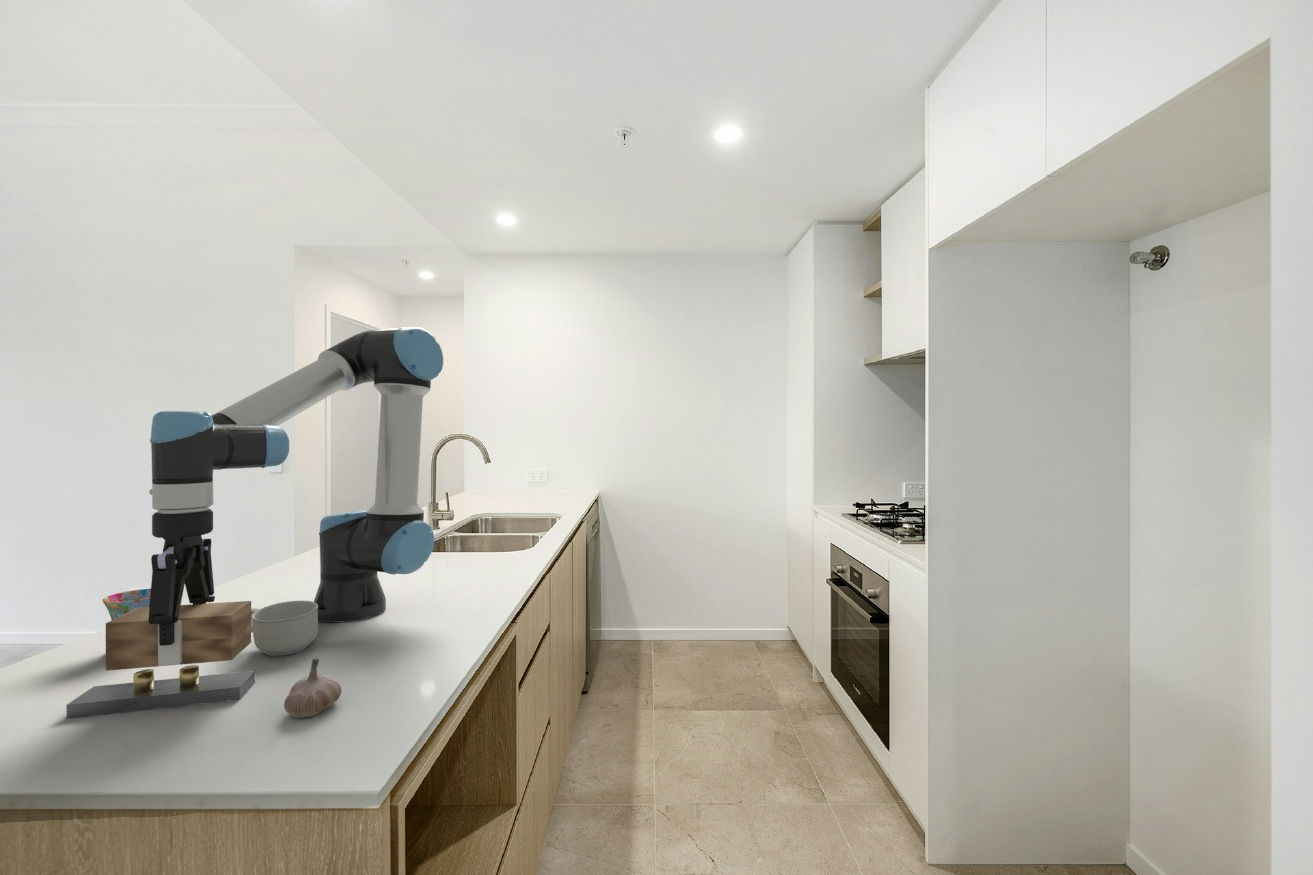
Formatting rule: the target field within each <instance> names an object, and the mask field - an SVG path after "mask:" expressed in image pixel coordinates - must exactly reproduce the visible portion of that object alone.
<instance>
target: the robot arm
mask: <svg viewBox="0 0 1313 875" xmlns="http://www.w3.org/2000/svg"><path fill="white" fill-rule="evenodd" d="M443 367H444V354H443V350H442V348H441V345H440V343H439V342H438V341H437V339H436V337H435V336H434V335H433V334H432V333H431V332H430V331H428V330H427V329H425V328H422V327H415V326H414V327H413V326H400V327H395V328H393V327H392V328H384V329H368V330H365V331H362V332H359V333H356V334H355V335H352V336H350V337H349V338H347V339H344V340H343V341H341V342H338V343H337V344H334V345H333V346H331V347H329V348H328V349H325V350H323V351H321V352H320V353H319V355H318V358H317V360H314V361H313V362H311V363H309V364H307V365H305V366H303V367H301V368H299V369H298V370H296V371H294V372H291V373H290V374H289V375H286V376H285V377H282V378H280V379H278V380H277V381H275V382H273V383H271V384H270V385H267V386H265V387H264V388H262V389H259V390H257V391H256V392H254V393H252V394H250V395H248V396H247V397H244V398H242V399H241V400H239V401H237V402H235V403H233V404H231V405H230V406H227V407H226V408H224V409H222V410H220V411H217V412H216V413H214V414H212V413H210V412H208V411H189V410H187V411H182V410H179V411H178V410H175V411H174V410H166V411H165V410H164V411H163V410H162V411H158V412H156V413H155V414H154V415H153V416H152V421H151V428H150V439H149V443H150V445H151V446H150V448H151V483H152V484H151V489H149V492H148V493H149V494H150V495H151V497H152V499H151V500H152V501H151V502H152V503H151V507H152V509H153V510H155V511H156V512H153V514H152V515H151V534H152V536H153V537H154V538H158V539H163V540H164V542H163V549H162V553H157V554H152V555H151V559H150V562H151V569H152V570H151V571H152V573H151V584H150V589H151V594H150V606H149V618H148V622H149V624H158V667H166V666H167V667H168V666H169V665H170V666H180V664H181V663H182V620H178V617H179V611H180V606H181V605H182V599H183V594H184V589H185V590H186V594H187V598H188V602H189V604H207V603H215V595H214V594H215V586H214V573H213V562H212V538H203V535H208V534H210V533H212V532H213V530H214V510H212V509H211V508H210V507H211V506H213V505H214V477H213V476H214V471H217V470H233V469H253V468H255V469H256V468H262V469H265V468H267V467H268V468H270V467H277V466H279V465H281V464H283V463H284V462H285V461H286V460H287V458H288V456H289V454H290V439H289V435H288V434H287V432H286V431H285V429H284V428H283V427H281V426H280V425H282V424H283V423H285V422H287V421H289V420H290V419H292V418H294V417H296V416H298V415H299V414H300V413H302V412H304V411H306V410H307V409H309V408H310V407H312V406H314V405H316V404H318V403H319V402H321V401H322V400H324V399H326V398H329V396H331V395H334V394H335V393H337V392H338V391H348V390H352V389H353V388H355V387H356V386H359V385H362V384H366V383H372V382H373V387H374V388H375V389H376V390H377V391H378V393H380V403H379V404H380V407H379V409H380V410H379V421H378V422H379V425H378V426H379V427H378V442H377V444H378V445H377V460H376V462H377V463H376V476H375V477H376V478H375V481H376V482H375V493H374V494H375V496H374V497H375V498H374V504H373V505H371V507H370V508H369V509H363V510H355V511H348V512H339V513H334V514H333V513H332V514H328V515H325V516H323V517H322V519H320V522H319V524H320V525H319V532H318V535H319V566H320V568H319V569H320V570H319V571H320V572H319V574H320V581H319V586H318V588H317V590H316V594H315V595H314V600H313V602H315V603H317V605H318V609H317V612H318V622H321V623H344V622H345V623H346V622H352V621H359V620H363V619H368V618H370V617H374V616H376V615H378V614H381V613H382V612H384V611H385V610H386V609H387V599H386V595H385V592H384V590H383V587H382V585H381V581H380V578H379V576H378V572H380V573H386V574H389V575H410V574H412V573H415V572H417V571H418V570H420V569H421V568H422V567H423V566H424V565H425V563H426V562H427V561H428V559H429V558H430V556H431V555H432V552H433V549H434V545H435V534H434V531H433V529H431V525H430V524H428V523H426V522H425V521H424V520H425V518H424V516H425V510H424V509H423V508H422V507H421V506H419V503H418V497H419V496H418V493H419V478H420V477H419V476H420V475H419V474H420V458H421V457H420V456H421V441H422V440H421V439H422V437H421V436H422V418H423V416H422V415H423V403H424V402H423V400H424V397H425V396H426V395H427V394H428V393H429V392H430V391H431V384H432V380H434V379H435V378H437V377H439V374H440V373H441V372H442V371H443ZM170 666H169V667H170Z"/></svg>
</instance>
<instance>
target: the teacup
mask: <svg viewBox="0 0 1313 875" xmlns="http://www.w3.org/2000/svg"><path fill="white" fill-rule="evenodd" d="M317 609H318V605H317V603H315V602H314V601H312V600H289V601H284V602H277V603H274V604H270V605H267V606H264V607H262V608H259V607H257V608H256V607H255V608H253V607H252V608H251V634H252V636H253V642H254V646H255V647H256V649H257V650H259V651H260V652H262V653H264V654H266V655H268V656H272V657H282V656H287V655H292V654H295V653H298V652H301V651H303V650H305V649H306V648H307V646H309V645H310V644H311V643H312V642H313V641H314V640H315V638H316V636H317V634H318V629H319V625H318V624H319V623H318V622H319V621H318V612H317Z"/></svg>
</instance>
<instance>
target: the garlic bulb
mask: <svg viewBox="0 0 1313 875" xmlns="http://www.w3.org/2000/svg"><path fill="white" fill-rule="evenodd" d="M319 662H320V658H318V657H313V658H312V660H311V665H310V671H309V673H308V674H309V675H307V676H305V677H304V678H301V679H300V680H298V681H297V682H295V684H294V685H293V686H291V688H290V691H289V694H288V695H287V696H286V698H285V700H284V702H283V707H284V708H283V709H284V710H285V712H286V713H287V714H289V715H290V716H291V717H293V718H295V719H296V718H297V719H302V718H303V719H304V718H307V717H308V718H309V717H311V718H312V717H315V716H317V715H318V714H319V715H320V714H321V713H322V712H323V711H324V710H326V708H329V707H330V706H333V704H334V703H335V702H337V701H338V700H339V698H340V697H341V695H342V686H341V684H340V683H339V682H338V681H336V680H335V679H331V678H327V677H325V676H322V675H320V674H319V675H318V666H319Z"/></svg>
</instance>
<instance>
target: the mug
mask: <svg viewBox="0 0 1313 875" xmlns="http://www.w3.org/2000/svg"><path fill="white" fill-rule="evenodd" d="M150 594H151V588H139V589H134V590H133V589H132V590H127V591H123V592H117V593H114V594H111V595H108V596H106V597H104V598H103V599H102V603H103V604H104V606H105V607H106V610H107V611H108V615H109V616H110V619H111V620H113V619H115V618H117V617H119V616H121V615H123V614H125V613H127V612H129V611H131V610H133V609H135V608H139V607H149V606H150ZM111 620H110V621H111Z"/></svg>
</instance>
